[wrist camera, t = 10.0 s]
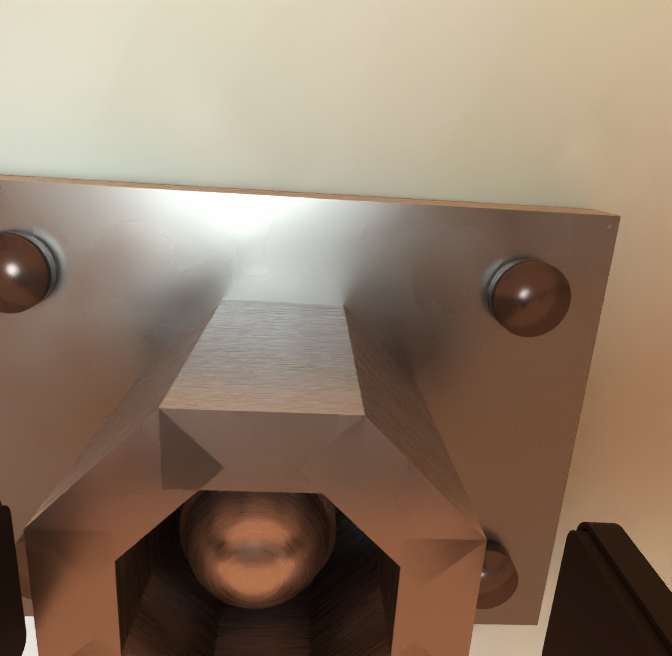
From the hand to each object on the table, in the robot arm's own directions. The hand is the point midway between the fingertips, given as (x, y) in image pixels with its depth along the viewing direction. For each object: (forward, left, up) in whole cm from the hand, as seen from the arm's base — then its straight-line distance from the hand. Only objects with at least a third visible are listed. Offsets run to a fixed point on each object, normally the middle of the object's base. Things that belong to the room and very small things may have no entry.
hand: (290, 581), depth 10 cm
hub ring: (0, 0, -5) cm, 5 cm away
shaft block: (+1, 0, -7) cm, 7 cm away
